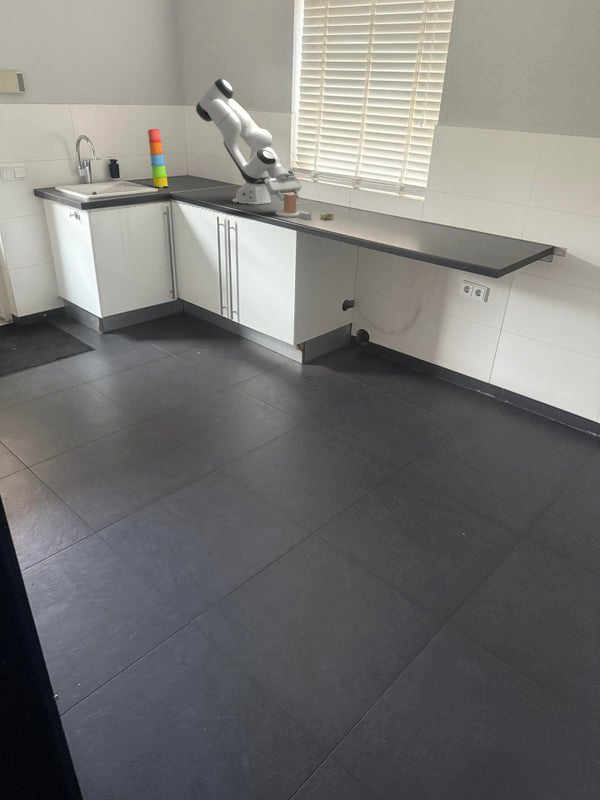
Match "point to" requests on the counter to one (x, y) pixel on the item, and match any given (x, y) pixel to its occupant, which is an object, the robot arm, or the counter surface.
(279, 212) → the cream plate
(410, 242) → the counter surface
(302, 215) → the grey brick
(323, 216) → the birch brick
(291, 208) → the orange cylinder
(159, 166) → the stacking cups
